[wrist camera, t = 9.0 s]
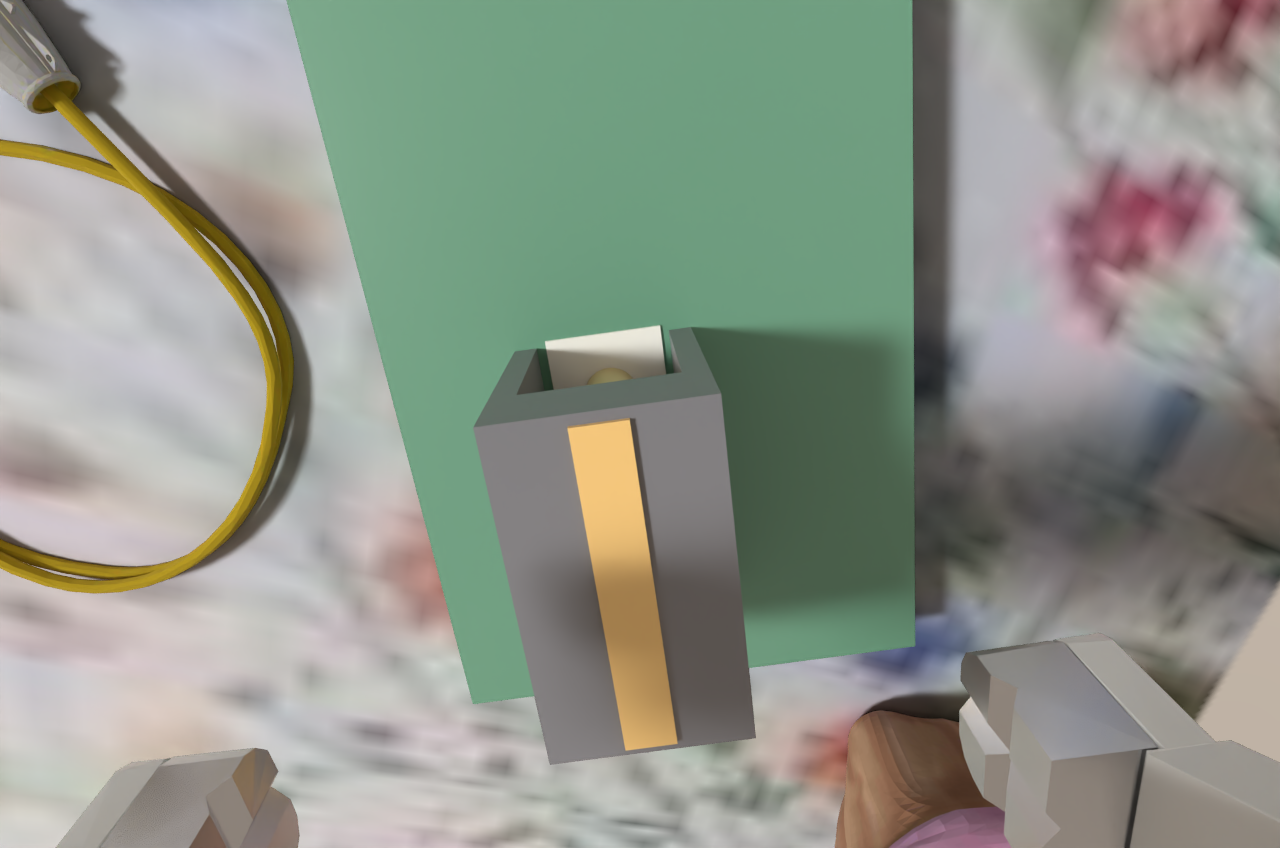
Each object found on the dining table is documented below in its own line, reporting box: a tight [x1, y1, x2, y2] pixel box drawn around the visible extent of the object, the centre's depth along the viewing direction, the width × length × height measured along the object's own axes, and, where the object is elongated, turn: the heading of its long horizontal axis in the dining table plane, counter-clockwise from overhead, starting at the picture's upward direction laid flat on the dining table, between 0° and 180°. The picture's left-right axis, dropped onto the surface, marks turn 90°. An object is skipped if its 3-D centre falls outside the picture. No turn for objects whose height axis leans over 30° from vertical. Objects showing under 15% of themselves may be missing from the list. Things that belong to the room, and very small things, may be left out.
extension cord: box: [0, 0, 294, 593], centre depth 16 cm, size 12×16×2 cm
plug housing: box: [473, 327, 756, 765], centre depth 15 cm, size 7×4×5 cm, turn 8°
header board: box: [287, 0, 915, 704], centre depth 16 cm, size 17×12×4 cm
